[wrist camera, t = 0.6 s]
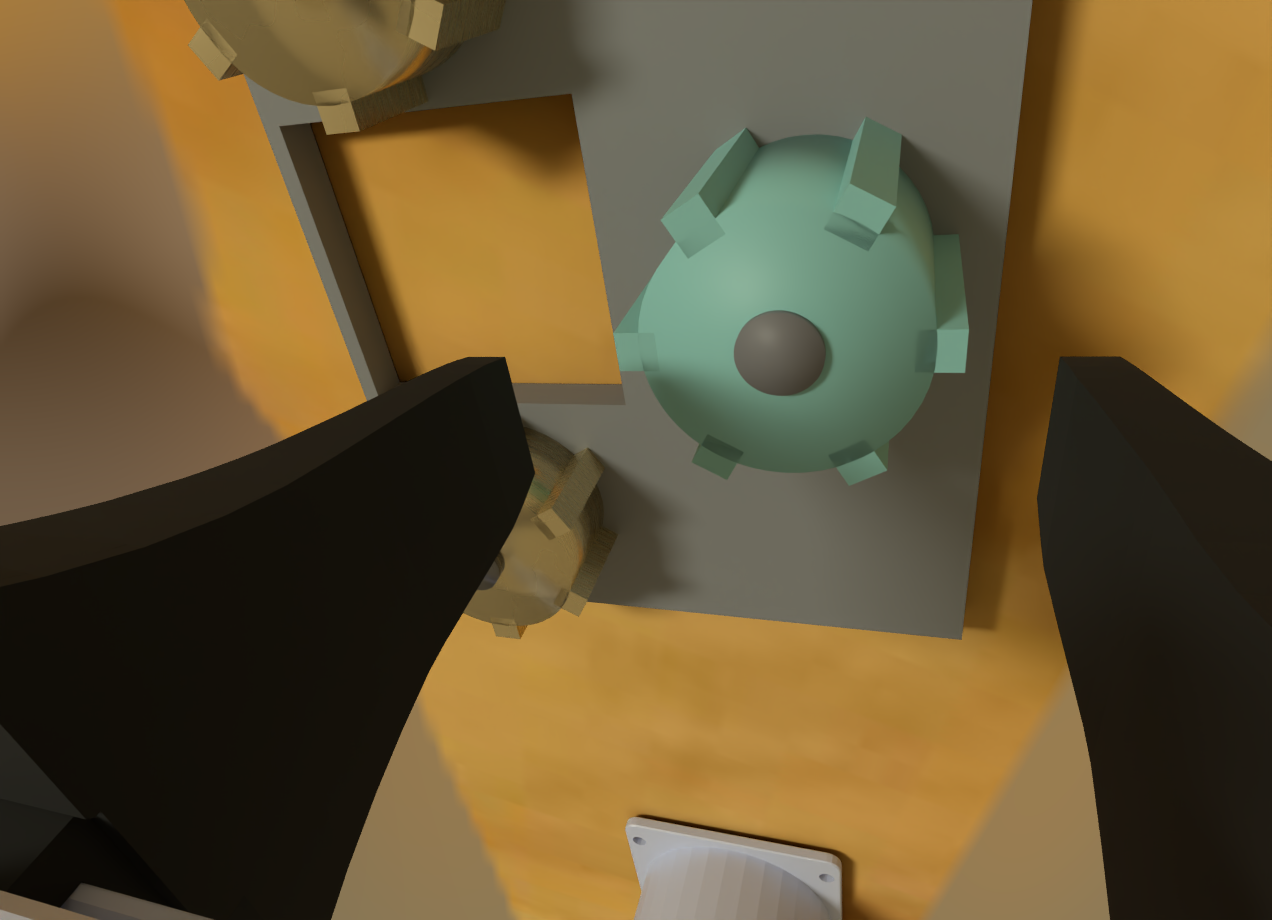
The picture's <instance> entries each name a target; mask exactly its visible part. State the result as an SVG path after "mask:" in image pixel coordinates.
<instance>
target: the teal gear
mask: <svg viewBox="0 0 1272 920" xmlns="http://www.w3.org/2000/svg"><path fill="white" fill-rule="evenodd" d="M901 138H902V135H901V134H899V133H897V132H896V131H894V130H892V129H890V128H888V127H886V126H884V125H882V124H880V123H878V122H876V121H874V120H872V119H870V118H868V117H865V119H864V121H863V123H862V124H861V126H860V128H859V130H858V132H857V133H856V135H855V137H854V139H853V140H851V139H847V138H843V137H839V136H831V135H823V134H817V135H800V136H793V137H787V138H784V139H781V140H777V141H774V142H771V143H769V144H766V145H764V146H762V147H760V148H759V147H758V145H757V144H756V142H755V141H754V139H753V137H752V136H751V134H750V133H749V131H748V130H747V128H745V129H743V130H742V131H741V132H739V133H738V134H736V135H735V136H734V137H732V138H731V139H730V140H728V141H727V142H726V143H724V144H723V145H722V146H720V147H719V148H717V149H716V150H715V151H714V152H713V154H712V155H711V156H710V157H709V159H708V160H707V161H706V162H705V164H704V165H703V166H702V168H701V169H700V170H699V171H698V173H697V174H696V175H695V177H694V178H693V179H692V180H691V182H690V183H689V184H688V186H687V187H686V188H685V189H684V191H683V192H682V193H681V194H680V196H679V197H678V198H677V200H676V201H675V202H674V203H673V205H672V206H671V207H670V209H669V210H668V211H667V212H666V214H665V215H664V216H663V218H662V219H661V222H662V223H663V224H664V226H665V227H666V229H667V230H668V231H669V233H670V234H671V236H672V237H673V239H674V240H675V241H676V242H675V243H674V245H673V246H672V248H671V249H670V251H669V252H668V253H667V255H666V256H665V258H664V259H663V261H662V262H661V264H660V265H659V267H658V268H657V269H656V271H655V273H654V275H653V276H652V278H651V279H650V281H649V282H648V284H647V285H646V286H645V288H644V289H643V291H642V292H641V294H640V295H639V297H638V298H637V299H636V301H635V302H634V304H633V305H632V307H631V308H630V310H629V311H628V313H627V314H626V315H625V317H624V318H623V320H622V321H621V323H620V324H619V326H618V327H617V328H616V330H615V331H614V333H613V335H614V340H615V346H616V352H617V358H618V363H619V369H620V371H644V372H645V375H646V378H647V380H648V383H649V385H650V387H651V389H652V391H653V393H654V395H655V397H656V399H657V400H658V402H659V403H660V405H661V406H662V408H663V409H664V410H665V412H666V413H667V414H668V415H669V417H670V418H671V419H672V420H673V421H674V422H675V423H676V425H677V426H678V427H679V428H681V429H682V430H683V431H684V432H685V433H686V434H687V435H688V436H689V437H691V438H692V439H693V440H695V441H696V442H698V443H699V445H698V447H697V450H696V452H695V455H694V457H693V460H692V463H694V464H696V465H698V466H700V467H702V468H704V469H706V470H708V471H710V472H712V473H714V474H716V475H718V476H720V477H722V478H724V479H726V480H727V479H728V477H729V476H730V474H731V473H732V471H733V469H734V468H735V466H736V465H737V463H738V464H741V465H745V466H748V467H751V468H756V469H761V470H765V471H772V472H783V473H805V472H814V471H822V470H826V469H831V468H835V467H836V468H837V470H838V471H839V472H840V474H841V475H842V477H843V478H844V479H845V481H846V482H847V484H848V485H849V486H850V485H853V484H855V483H858V482H860V481H863V480H865V479H867V478H870V477H872V476H875V475H877V474H880V473H882V472H885V471H887V467H888V450H889V440H891V439H892V438H893V437H894V436H895V435H896V434H898V433H899V432H900V431H901V430H902V429H903V427H904V426H905V425H906V424H907V423H908V422H909V421H910V420H911V419H912V417H913V416H914V414H915V413H916V411H917V410H918V408H919V407H920V405H921V404H922V402H923V400H924V398H925V396H926V393H927V391H928V389H929V387H930V384H931V381H932V378H933V374H934V373H965V367H966V356H967V345H968V334H969V325H968V316H967V307H966V297H965V288H964V279H963V270H962V260H961V251H960V242H959V234H951V235H933V229H932V223H931V219H930V216H929V213H928V210H927V207H926V204H925V202H924V200H923V198H922V196H921V194H920V192H919V191H918V189H917V188H916V186H915V185H914V183H913V182H912V180H911V179H910V178H909V177H908V176H907V175H906V173H905V172H904V171H903V170H902V169H901V168H900V167H899V164H900V151H901Z"/></svg>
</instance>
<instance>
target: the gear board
mask: <svg viewBox="0 0 1272 920" xmlns="http://www.w3.org/2000/svg"><path fill="white" fill-rule="evenodd" d="M185 2H186V4H187V6H188V8H189V10H190V11H191V13H192V14H193V16H194V18H195V19H196V21H197V22H198V24H199V25H200V28H199V30H198V31H197V33H196V34H195V36H194V37H193V39H192V40H191V41H190V43H189V44H188V46H189V47H190V48H191V49H192V50H193V52H194V53H195V54H196V55H197V56H198V57H199V58H200V60H201V61H202V62H203V63H204V64H205V65H206V67H207V68H208V69H209V70H210V71H211V72H212V74H213V75H214V76H215V77H216V78H217V79H218V80H223V79H226V78H230V77H234V76H237V75H241V74H244V76H245V78H246V81H247V84H248V86H249V89H250V92H251V94H252V97H253V100H254V102H255V105H256V107H257V110H258V113H259V115H260V118H261V121H262V123H263V126H264V129H265V131H266V134H267V137H268V139H269V142H270V145H271V147H272V150H273V153H274V155H275V158H276V161H277V163H278V166H279V168H280V171H281V174H282V176H283V179H284V182H285V184H286V187H287V190H288V192H289V195H290V198H291V200H292V203H293V206H294V208H295V211H296V214H297V216H298V219H299V221H300V224H301V227H302V229H303V232H304V235H305V237H306V240H307V243H308V245H309V248H310V251H311V253H312V256H313V259H314V261H315V264H316V267H317V269H318V272H319V274H320V277H321V280H322V282H323V285H324V288H325V290H326V293H327V296H328V298H329V301H330V304H331V306H332V309H333V312H334V314H335V317H336V320H337V322H338V325H339V328H340V330H341V333H342V335H343V338H344V341H345V343H346V346H347V349H348V351H349V354H350V357H351V359H352V362H353V365H354V367H355V370H356V373H357V375H358V378H359V381H360V383H361V386H362V388H363V391H364V394H365V396H366V399H367V401H368V400H370V399H373V398H375V397H377V396H379V395H381V394H383V393H385V392H387V391H389V390H391V389H393V388H395V387H397V386H399V385H401V384H403V383H405V382H399V379H398V377H397V374H396V371H395V368H394V365H393V362H392V359H391V356H390V353H389V351H388V348H387V345H386V342H385V339H384V336H383V333H382V330H381V327H380V325H379V322H378V319H377V316H376V313H375V310H374V307H373V304H372V302H371V299H370V296H369V293H368V290H367V287H366V284H365V281H364V278H363V276H362V273H361V270H360V267H359V264H358V261H357V258H356V255H355V253H354V250H353V247H352V244H351V241H350V238H349V235H348V232H347V229H346V227H345V224H344V221H343V218H342V215H341V212H340V209H339V206H338V203H337V201H336V198H335V195H334V192H333V189H332V186H331V183H330V180H329V178H328V175H327V172H326V169H325V166H324V163H323V160H322V157H321V154H320V152H319V149H318V146H317V143H316V140H315V137H314V134H313V131H312V128H311V126H310V123H313V122H323V125H324V128H325V131H326V134H327V135H329V134H339V133H348V132H358V131H362V130H364V129H366V128H369V127H371V126H373V125H375V124H378V123H380V122H382V121H385V120H387V119H389V118H391V117H394V116H396V115H398V114H401V113H403V112H411V111H420V110H429V109H438V108H447V107H456V106H464V105H473V104H482V103H491V102H500V101H509V100H518V99H527V98H536V97H545V96H554V95H563V94H571V93H572V99H573V105H574V111H575V116H576V122H577V128H578V134H579V139H580V145H581V151H582V156H583V162H584V168H585V174H586V179H587V185H588V191H589V197H590V202H591V208H592V214H593V220H594V225H595V231H596V237H597V242H598V248H599V254H600V260H601V265H602V271H603V277H604V283H605V288H606V294H607V300H608V306H609V311H610V317H611V323H612V328H613V333H614V331H615V330H616V328H617V327H618V326H619V324H620V323H621V321H622V320H623V318H624V317H625V315H626V314H627V313H628V311H629V310H630V308H631V307H632V305H633V304H634V302H635V301H636V299H637V298H638V297H639V295H640V294H641V292H642V291H643V289H644V288H645V286H646V285H647V284H648V282H649V281H650V279H651V278H652V276H653V275H654V273H655V271H656V269H657V268H658V267H659V265H660V264H661V262H662V261H663V259H664V258H665V256H666V255H667V253H668V252H669V251H670V249H671V248H672V246H673V245H674V243H675V242H676V241H675V240H674V239H673V237H672V236H671V234H670V233H669V231H668V230H667V229H666V227H665V226H664V224H663V223H662V222H661V219H662V218H663V216H664V215H665V214H666V212H667V211H668V210H669V209H670V207H671V206H672V205H673V203H674V202H675V201H676V200H677V198H678V197H679V196H680V194H681V193H682V192H683V191H684V189H685V188H686V187H687V186H688V184H689V183H690V182H691V180H692V179H693V178H694V177H695V175H696V174H697V173H698V171H699V170H700V169H701V168H702V166H703V165H704V164H705V162H706V161H707V160H708V159H709V157H710V156H711V155H712V154H713V152H714V151H715V150H716V149H717V148H719V147H720V146H722V145H723V144H724V143H726V142H727V141H728V140H730V139H731V138H732V137H734V136H735V135H736V134H738V133H739V132H741V131H742V130H743V129H745V128H747V130H748V131H749V133H750V134H751V136H752V137H753V139H754V141H755V142H756V144H757V145H758V147H759V148H760V147H762V146H764V145H766V144H769V143H771V142H774V141H777V140H781V139H784V138H787V137H793V136H800V135H817V134H823V135H831V136H839V137H843V138H847V139H851V140H853V139H854V137H855V135H856V133H857V132H858V130H859V128H860V126H861V124H862V123H863V121H864V119H865V117H868V118H870V119H872V120H874V121H876V122H878V123H880V124H882V125H884V126H886V127H888V128H890V129H892V130H894V131H896V132H897V133H899V134H901V135H902V138H901V151H900V164H899V167H900V168H901V169H902V170H903V171H904V172H905V173H906V175H907V176H908V177H909V178H910V179H911V180H912V182H913V183H914V185H915V186H916V188H917V189H918V191H919V192H920V194H921V196H922V198H923V200H924V202H925V204H926V207H927V210H928V213H929V216H930V219H931V223H932V229H933V235H951V234H959V242H960V251H961V260H962V270H963V279H964V288H965V297H966V307H967V316H968V325H969V334H968V345H967V356H966V367H965V373H934V374H933V378H932V381H931V384H930V387H929V389H928V391H927V393H926V396H925V398H924V400H923V402H922V404H921V405H920V407H919V408H918V410H917V411H916V413H915V414H914V416H913V417H912V419H911V420H910V421H909V422H908V423H907V424H906V425H905V426H904V427H903V429H902V430H901V431H900V432H899V433H898V434H896V435H895V436H894V437H893V438H892V439H891V440H889V450H888V467H887V471H885V472H882V473H880V474H877V475H875V476H872V477H870V478H867V479H865V480H863V481H860V482H858V483H855V484H853V485H850V486H849V485H848V484H847V482H846V481H845V479H844V478H843V477H842V475H841V474H840V472H839V471H838V470H837V468H836V467H835V468H831V469H826V470H822V471H814V472H805V473H783V472H772V471H765V470H761V469H756V468H751V467H748V466H745V465H741V464H738V463H737V465H736V466H735V468H734V469H733V471H732V473H731V474H730V476H729V477H728V479H727V480H726V479H724V478H722V477H720V476H718V475H716V474H714V473H712V472H710V471H708V470H706V469H704V468H702V467H700V466H698V465H696V464H694V463H692V460H693V457H694V455H695V452H696V450H697V447H698V445H699V443H698V442H696V441H695V440H693V439H692V438H691V437H689V436H688V435H687V434H686V433H685V432H684V431H683V430H682V429H681V428H679V427H678V426H677V425H676V423H675V422H674V421H673V420H672V419H671V418H670V417H669V415H668V414H667V413H666V412H665V410H664V409H663V408H662V406H661V405H660V403H659V402H658V400H657V399H656V397H655V395H654V393H653V391H652V389H651V387H650V385H649V383H648V380H647V378H646V375H645V372H644V371H620V374H621V380H622V384H534V383H512V386H513V389H514V393H515V397H516V401H517V405H518V409H519V412H520V416H521V420H522V424H523V428H524V431H525V435H526V439H527V443H528V447H529V451H530V454H531V458H532V462H533V466H534V470H535V475H534V478H533V481H532V483H531V486H530V489H529V491H528V494H527V497H526V499H525V502H524V504H523V507H522V509H521V511H520V514H519V516H518V518H517V521H516V523H515V525H514V528H513V530H512V531H511V533H510V535H509V537H508V538H507V540H506V542H505V544H504V545H503V547H502V549H501V550H500V552H499V554H498V555H497V557H496V559H495V561H494V562H493V564H492V566H491V567H490V569H489V571H488V572H487V574H486V576H485V577H484V579H483V581H482V582H481V584H480V586H479V587H478V589H477V591H476V592H475V594H474V595H473V597H472V599H471V600H470V602H469V604H468V605H467V607H466V609H465V610H464V612H463V613H464V614H467V615H469V616H471V617H474V618H476V619H479V620H482V621H486V622H489V623H492V625H493V628H494V631H495V634H496V636H499V637H507V638H516V639H521V637H522V635H523V633H524V631H525V629H526V627H527V626H528V625H531V624H535V623H539V622H542V621H544V620H546V619H548V618H550V617H552V616H553V615H554V614H556V613H557V612H558V611H559V610H560V609H561V608H562V609H564V610H566V611H568V612H570V613H572V614H574V615H576V616H578V617H579V615H580V613H581V612H582V610H583V608H584V606H585V604H586V602H596V603H606V604H616V605H625V606H635V607H645V608H655V609H665V610H674V611H684V612H694V613H704V614H714V615H724V616H733V617H743V618H753V619H763V620H773V621H783V622H792V623H802V624H812V625H822V626H832V627H841V628H851V629H861V630H871V631H881V632H891V633H900V634H910V635H920V636H930V637H940V638H949V639H959V640H962V631H963V622H964V613H965V604H966V595H967V586H968V577H969V568H970V559H971V550H972V541H973V532H974V523H975V514H976V505H977V496H978V487H979V478H980V469H981V460H982V451H983V442H984V433H985V424H986V415H987V406H988V397H989V388H990V379H991V370H992V361H993V352H994V343H995V334H996V325H997V316H998V307H999V298H1000V289H1001V280H1002V271H1003V262H1004V253H1005V244H1006V235H1007V226H1008V217H1009V208H1010V199H1011V190H1012V181H1013V172H1014V163H1015V154H1016V145H1017V136H1018V127H1019V118H1020V109H1021V99H1022V90H1023V81H1024V72H1025V63H1026V54H1027V45H1028V36H1029V27H1030V18H1031V9H1032V0H185Z"/></svg>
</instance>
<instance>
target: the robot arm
mask: <svg viewBox="0 0 1272 920" xmlns="http://www.w3.org/2000/svg"><path fill="white" fill-rule="evenodd" d="M534 475H535V470H534V466H533V462H532V458H531V454H530V451H529V447H528V443H527V439H526V435H525V431H524V428H523V424H522V420H521V416H520V412H519V409H518V405H517V401H516V397H515V393H514V389H513V386H512V382H511V378H510V374H509V370H508V367H507V363H506V359H505V357H467V358H463V359H460V360H457V361H454V362H451V363H448V364H446V365H443V366H441V367H438V368H436V369H434V370H431V371H429V372H427V373H425V374H422V375H420V376H418V377H416V378H414V379H412V380H410V381H408V382H405V383H403V384H401V385H399V386H397V387H395V388H393V389H391V390H389V391H387V392H385V393H383V394H381V395H379V396H377V397H375V398H373V399H370V400H368V401H366V402H364V403H362V404H360V405H358V406H356V407H354V408H352V409H350V410H348V411H346V412H344V413H342V414H339V415H337V416H335V417H333V418H331V419H328V420H326V421H324V422H322V423H320V424H318V425H315V426H313V427H311V428H309V429H307V430H304V431H302V432H300V433H298V434H296V435H293V436H291V437H289V438H287V439H285V440H282V441H280V442H278V443H276V444H273V445H271V446H268V447H266V448H264V449H261V450H259V451H256V452H254V453H251V454H249V455H246V456H244V457H241V458H239V459H236V460H233V461H230V462H228V463H225V464H222V465H220V466H217V467H214V468H211V469H208V470H206V471H203V472H200V473H197V474H194V475H191V476H189V477H186V478H183V479H179V480H176V481H172V482H169V483H166V484H163V485H159V486H156V487H153V488H149V489H146V490H143V491H139V492H136V493H133V494H130V495H126V496H123V497H119V498H116V499H113V500H109V501H106V502H102V503H98V504H94V505H90V506H86V507H82V508H78V509H74V510H70V511H66V512H62V513H58V514H54V515H49V516H45V517H40V518H36V519H31V520H27V521H23V522H18V523H13V524H8V525H4V526H0V920H331V918H332V915H333V912H334V909H335V906H336V903H337V900H338V897H339V894H340V891H341V887H342V885H343V881H344V879H345V875H346V872H347V869H348V867H349V864H350V861H351V859H352V856H353V853H354V851H355V848H356V845H357V842H358V840H359V837H360V835H361V832H362V829H363V826H364V824H365V821H366V818H367V816H368V813H369V810H370V808H371V805H372V802H373V800H374V797H375V794H376V791H377V789H378V787H379V785H380V782H381V780H382V777H383V775H384V772H385V770H386V768H387V765H388V763H389V761H390V758H391V756H392V753H393V751H394V749H395V746H396V744H397V742H398V739H399V737H400V734H401V732H402V730H403V727H404V725H405V723H406V721H407V719H408V716H409V714H410V712H411V710H412V708H413V706H414V703H415V701H416V699H417V697H418V695H419V693H420V690H421V688H422V686H423V684H424V682H425V679H426V677H427V675H428V673H429V671H430V669H431V667H432V665H433V664H434V662H435V660H436V658H437V656H438V654H439V653H440V651H441V649H442V647H443V645H444V643H445V642H446V640H447V638H448V637H449V635H450V633H451V632H452V630H453V629H454V627H455V625H456V624H457V622H458V620H459V619H460V617H461V615H462V614H463V612H464V610H465V609H466V607H467V605H468V604H469V602H470V600H471V599H472V597H473V595H474V594H475V592H476V591H477V589H478V587H479V586H480V584H481V582H482V581H483V579H484V577H485V576H486V574H487V572H488V571H489V569H490V567H491V566H492V564H493V562H494V561H495V559H496V557H497V555H498V554H499V552H500V550H501V549H502V547H503V545H504V544H505V542H506V540H507V538H508V537H509V535H510V533H511V531H512V530H513V528H514V525H515V523H516V521H517V518H518V516H519V514H520V511H521V509H522V507H523V504H524V502H525V499H526V497H527V494H528V491H529V489H530V486H531V483H532V481H533V478H534ZM1037 502H1038V514H1039V526H1040V537H1041V547H1042V556H1043V566H1044V570H1045V575H1046V579H1047V583H1048V587H1049V591H1050V595H1051V599H1052V604H1053V608H1054V612H1055V616H1056V620H1057V624H1058V628H1059V632H1060V636H1061V640H1062V644H1063V648H1064V652H1065V655H1066V659H1067V663H1068V667H1069V671H1070V675H1071V679H1072V683H1073V687H1074V691H1075V695H1076V699H1077V703H1078V707H1079V711H1080V715H1081V719H1082V722H1083V727H1084V732H1085V737H1086V742H1087V746H1088V752H1089V757H1090V762H1091V768H1092V776H1093V784H1094V791H1095V799H1096V807H1097V814H1098V822H1099V830H1100V837H1101V845H1102V853H1103V862H1104V870H1105V879H1106V888H1107V896H1108V905H1109V914H1110V920H1272V461H1270V460H1269V459H1267V458H1265V457H1264V456H1263V455H1261V454H1260V453H1258V452H1257V451H1255V450H1253V449H1252V448H1250V447H1249V446H1247V445H1246V444H1244V443H1243V442H1241V441H1240V440H1238V439H1237V438H1235V437H1234V436H1232V435H1231V434H1229V433H1228V432H1226V431H1225V430H1224V429H1222V428H1221V427H1219V426H1218V425H1216V424H1215V423H1214V422H1212V421H1211V420H1209V419H1208V418H1206V417H1205V416H1204V415H1202V414H1201V413H1199V412H1198V411H1197V410H1195V409H1194V408H1192V407H1191V406H1190V405H1188V404H1187V403H1185V402H1184V401H1183V400H1181V399H1180V398H1179V397H1177V396H1176V395H1175V394H1173V393H1172V392H1170V391H1169V390H1168V389H1166V388H1165V387H1164V386H1162V385H1161V384H1159V383H1158V382H1157V381H1155V380H1154V379H1153V378H1151V377H1150V376H1148V375H1147V374H1146V373H1144V372H1143V371H1141V370H1140V369H1139V368H1137V367H1136V366H1134V365H1133V364H1131V363H1130V362H1128V361H1126V360H1125V359H1123V358H1121V357H1060V360H1059V366H1058V372H1057V379H1056V385H1055V391H1054V397H1053V403H1052V409H1051V415H1050V422H1049V428H1048V434H1047V440H1046V446H1045V452H1044V458H1043V465H1042V471H1041V477H1040V483H1039V489H1038V495H1037ZM625 830H626V834H627V838H628V842H629V845H630V849H631V853H632V857H633V861H634V864H635V868H636V872H637V876H638V880H639V883H640V887H641V891H642V892H641V896H640V899H639V903H638V907H637V910H636V914H635V917H634V920H842V863H841V860H840V859H839V858H838V857H837V856H835V855H833V854H830V853H827V852H821V851H816V850H811V849H805V848H800V847H795V846H790V845H784V844H779V843H774V842H768V841H763V840H758V839H752V838H747V837H742V836H736V835H731V834H726V833H720V832H715V831H710V830H704V829H699V828H694V827H689V826H683V825H678V824H673V823H667V822H662V821H657V820H651V819H646V818H641V817H632V818H630V819H629V820H628V821H627V825H626V829H625Z"/></svg>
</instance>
